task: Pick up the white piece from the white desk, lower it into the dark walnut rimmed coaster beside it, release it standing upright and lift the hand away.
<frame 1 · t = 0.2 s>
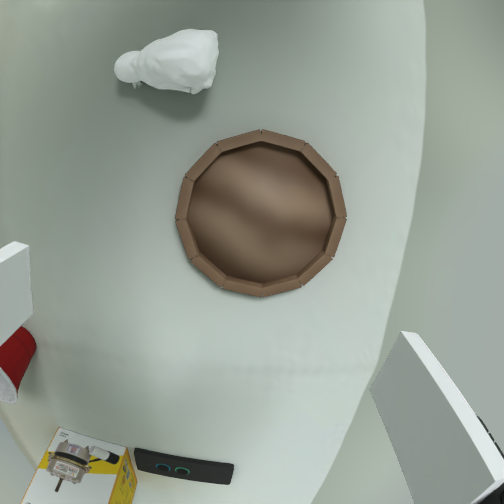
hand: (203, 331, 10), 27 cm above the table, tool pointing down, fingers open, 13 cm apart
white piece: (171, 70, 31), on the table
plastic cup: (25, 339, 43), on the table
packaging box: (99, 456, 53), on the table
coaster: (261, 213, 36), on the table
smart home device: (183, 464, 53), on the table
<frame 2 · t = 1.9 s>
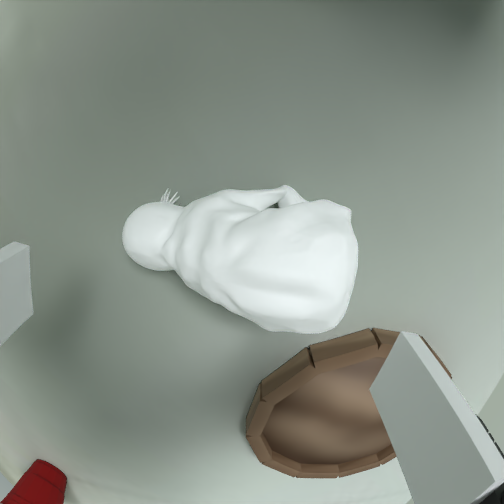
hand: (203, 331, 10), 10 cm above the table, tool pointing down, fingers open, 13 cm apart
white piece: (231, 227, 20), on the table
plastic cup: (52, 469, 33), on the table
coaster: (351, 412, 25), on the table
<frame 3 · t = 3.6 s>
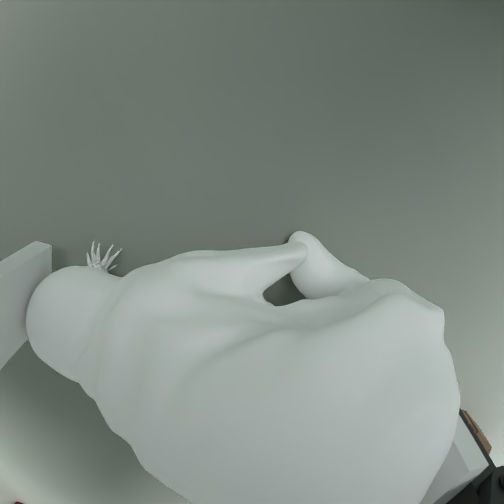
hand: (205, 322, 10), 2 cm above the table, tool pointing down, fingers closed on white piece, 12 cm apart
white piece: (209, 297, 12), on the table, touching gripper
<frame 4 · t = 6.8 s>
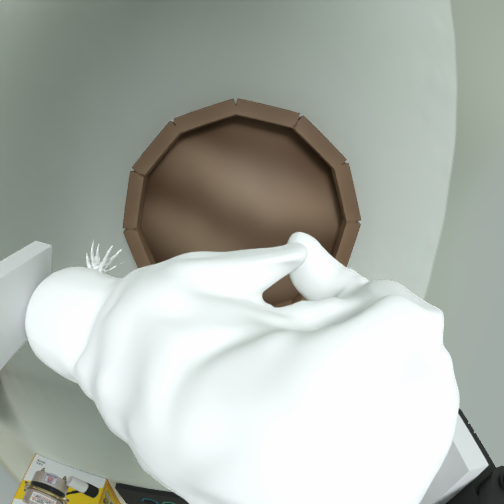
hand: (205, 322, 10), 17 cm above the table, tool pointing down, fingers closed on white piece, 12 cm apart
white piece: (209, 298, 12), point 15 cm above the table, touching gripper
packaging box: (81, 484, 44), on the table
coaster: (240, 218, 26), on the table
smart home device: (172, 497, 44), on the table
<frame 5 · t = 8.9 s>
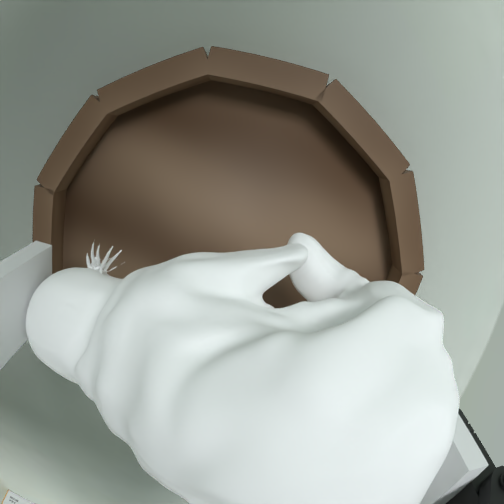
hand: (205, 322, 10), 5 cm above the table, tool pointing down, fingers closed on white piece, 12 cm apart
white piece: (209, 298, 12), point 4 cm above the table, touching gripper
coaster: (219, 262, 15), on the table
when the fingers open (4 cm above the table, at t = 10.3 s): white piece drops 2 cm, resting on coaster.
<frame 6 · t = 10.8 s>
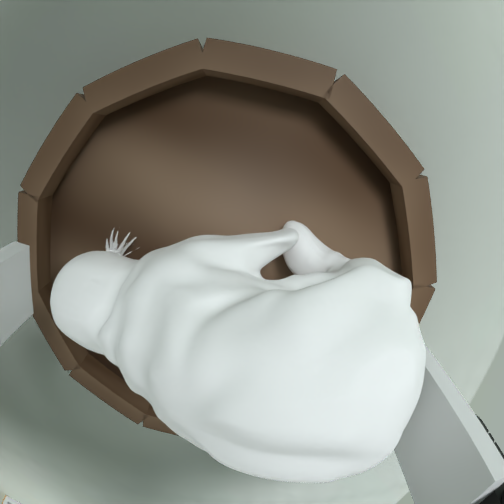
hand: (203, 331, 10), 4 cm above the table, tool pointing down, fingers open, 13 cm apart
white piece: (213, 280, 13), point 1 cm above the table, touching coaster
coaster: (216, 274, 14), on the table
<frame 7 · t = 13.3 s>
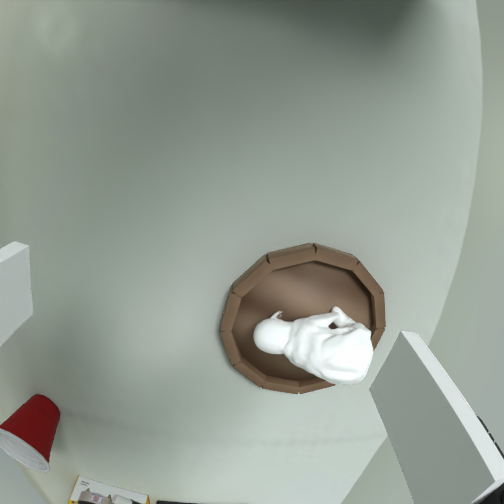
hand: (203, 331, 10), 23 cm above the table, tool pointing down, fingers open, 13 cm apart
white piece: (304, 325, 35), point 1 cm above the table, touching coaster
plastic cup: (47, 406, 41), on the table
packaging box: (117, 499, 51), on the table
coaster: (304, 322, 36), on the table
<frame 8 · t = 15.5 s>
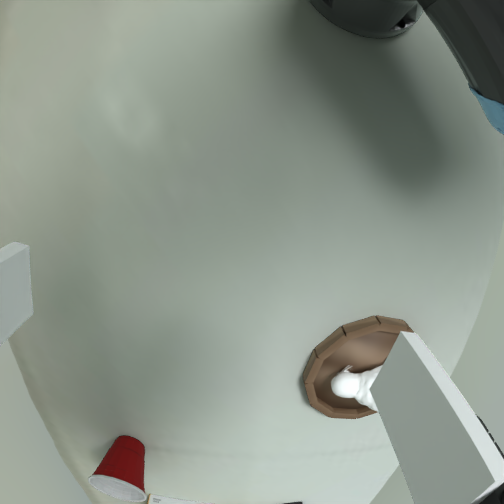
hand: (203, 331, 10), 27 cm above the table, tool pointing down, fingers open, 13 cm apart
white piece: (364, 371, 43), point 1 cm above the table, touching coaster
plastic cup: (131, 443, 50), on the table
coaster: (364, 369, 43), on the table
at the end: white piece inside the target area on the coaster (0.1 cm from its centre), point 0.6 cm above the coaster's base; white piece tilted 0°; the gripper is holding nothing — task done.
